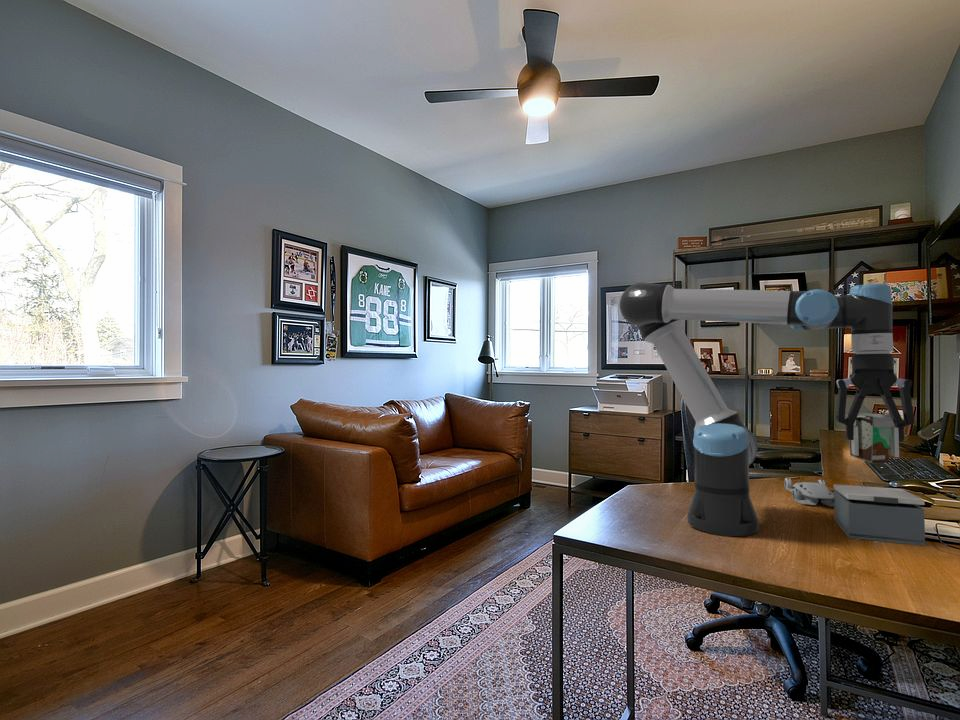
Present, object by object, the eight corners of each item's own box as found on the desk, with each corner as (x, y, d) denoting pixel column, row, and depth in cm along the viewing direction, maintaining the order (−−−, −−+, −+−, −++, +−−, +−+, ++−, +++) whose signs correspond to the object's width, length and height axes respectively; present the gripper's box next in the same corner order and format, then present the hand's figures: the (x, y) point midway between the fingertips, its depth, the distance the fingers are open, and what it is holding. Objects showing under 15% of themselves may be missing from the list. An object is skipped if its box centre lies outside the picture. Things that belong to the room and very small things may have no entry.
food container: (908, 465, 109) (907, 417, 109) (875, 464, 110) (874, 417, 110) (876, 455, 121) (875, 412, 121) (847, 454, 122) (845, 412, 122)
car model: (824, 490, 155) (823, 473, 155) (848, 512, 132) (848, 492, 132) (782, 487, 159) (781, 471, 159) (798, 508, 136) (798, 489, 136)
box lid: (848, 499, 111) (848, 495, 111) (833, 488, 124) (833, 484, 124) (926, 505, 105) (926, 500, 106) (901, 493, 119) (901, 488, 119)
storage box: (849, 537, 111) (848, 503, 112) (834, 519, 124) (834, 488, 124) (925, 545, 106) (924, 509, 106) (901, 526, 119) (901, 493, 119)
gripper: (824, 353, 116) (826, 455, 116) (933, 351, 108) (937, 460, 108) (817, 354, 123) (820, 450, 123) (920, 352, 115) (923, 455, 115)
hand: (874, 455), depth 115 cm, fingers closed on food container, 7 cm apart
